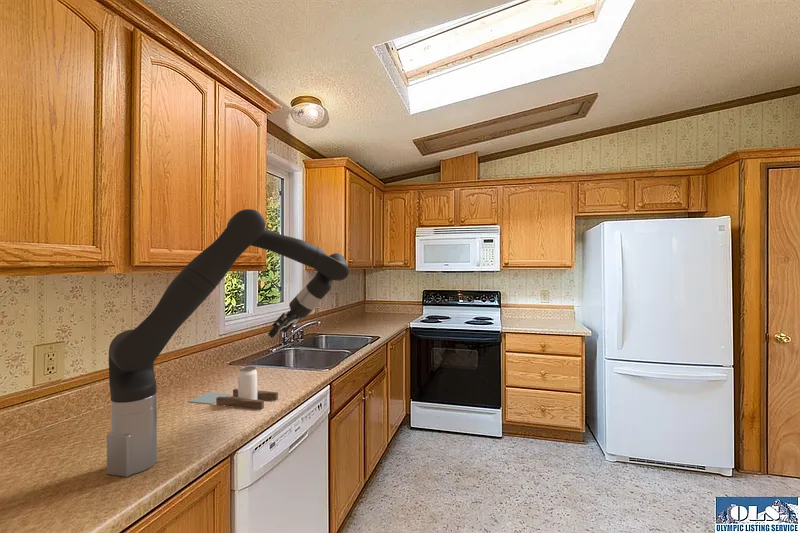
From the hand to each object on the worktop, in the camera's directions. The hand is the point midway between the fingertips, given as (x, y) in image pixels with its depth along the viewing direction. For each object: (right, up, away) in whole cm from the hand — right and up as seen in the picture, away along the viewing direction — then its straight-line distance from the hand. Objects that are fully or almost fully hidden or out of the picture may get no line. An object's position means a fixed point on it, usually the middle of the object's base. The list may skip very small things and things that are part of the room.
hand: (276, 333), depth 132 cm
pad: (-27, -25, +7) cm, 37 cm away
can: (-11, -25, +3) cm, 28 cm away
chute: (-11, -25, +3) cm, 28 cm away
